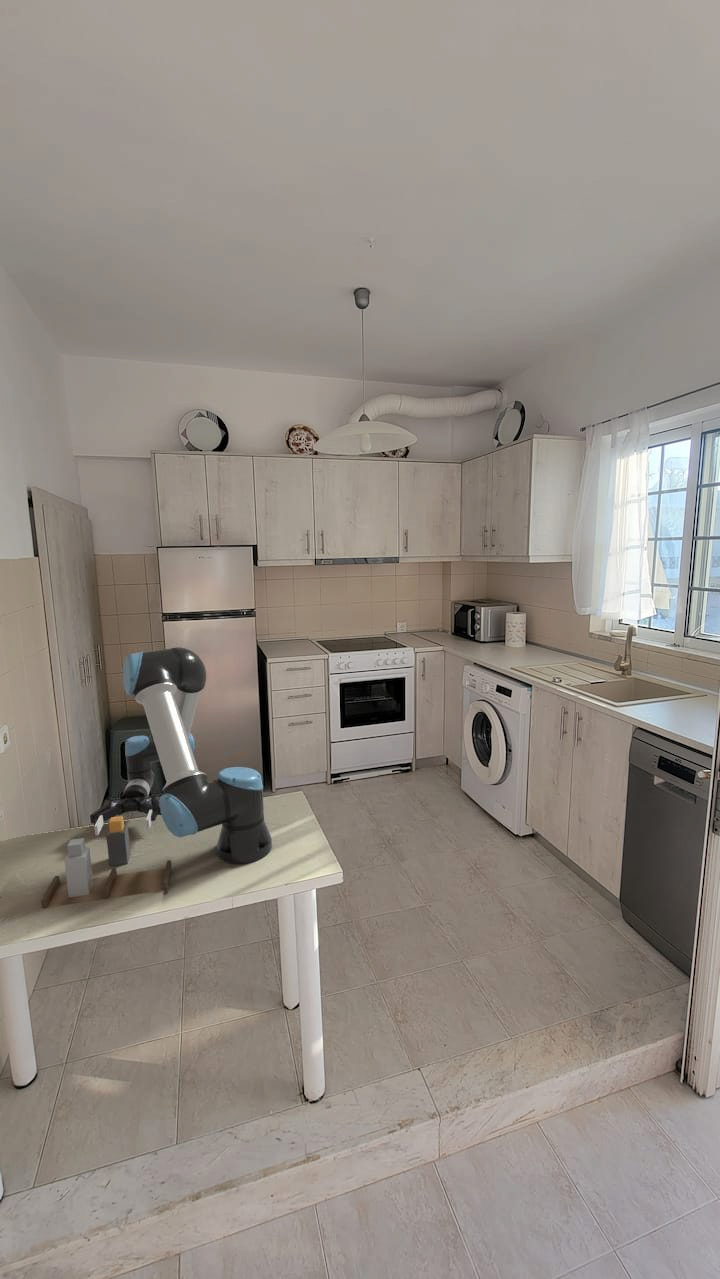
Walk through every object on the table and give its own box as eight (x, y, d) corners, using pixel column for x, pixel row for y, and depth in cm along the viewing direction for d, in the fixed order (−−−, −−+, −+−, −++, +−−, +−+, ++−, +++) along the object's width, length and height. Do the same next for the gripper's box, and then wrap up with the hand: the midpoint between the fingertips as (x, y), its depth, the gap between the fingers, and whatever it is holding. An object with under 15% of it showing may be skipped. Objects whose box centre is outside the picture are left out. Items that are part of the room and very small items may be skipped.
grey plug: (93, 883, 139) (88, 836, 136) (89, 894, 134) (83, 845, 132) (74, 886, 138) (68, 838, 135) (68, 897, 133) (62, 848, 131)
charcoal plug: (131, 858, 152) (126, 814, 150) (127, 867, 147) (123, 822, 145) (113, 860, 151) (108, 816, 149) (109, 869, 146) (105, 824, 144)
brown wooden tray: (172, 870, 145) (171, 860, 145) (167, 893, 136) (166, 882, 135) (56, 887, 139) (54, 876, 139) (42, 911, 130) (41, 900, 129)
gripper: (177, 801, 179) (169, 833, 158) (94, 811, 173) (75, 846, 153) (175, 779, 177) (167, 809, 157) (92, 788, 172) (72, 820, 152)
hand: (122, 827), depth 155 cm, fingers open, 13 cm apart
